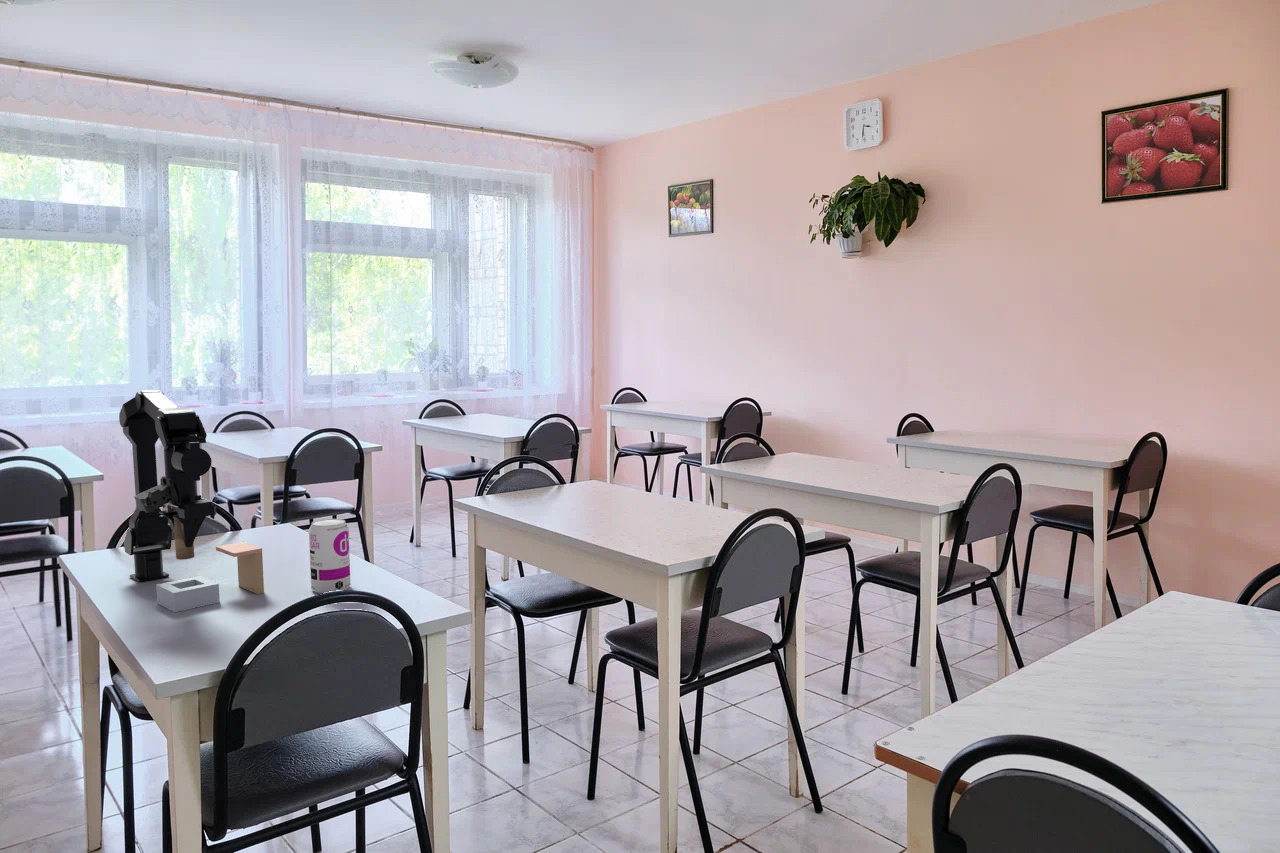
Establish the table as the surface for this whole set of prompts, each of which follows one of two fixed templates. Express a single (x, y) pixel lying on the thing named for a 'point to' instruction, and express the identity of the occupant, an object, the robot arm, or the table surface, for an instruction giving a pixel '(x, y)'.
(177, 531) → the peg
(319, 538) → the supplement can
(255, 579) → the grey and wooden blocks
